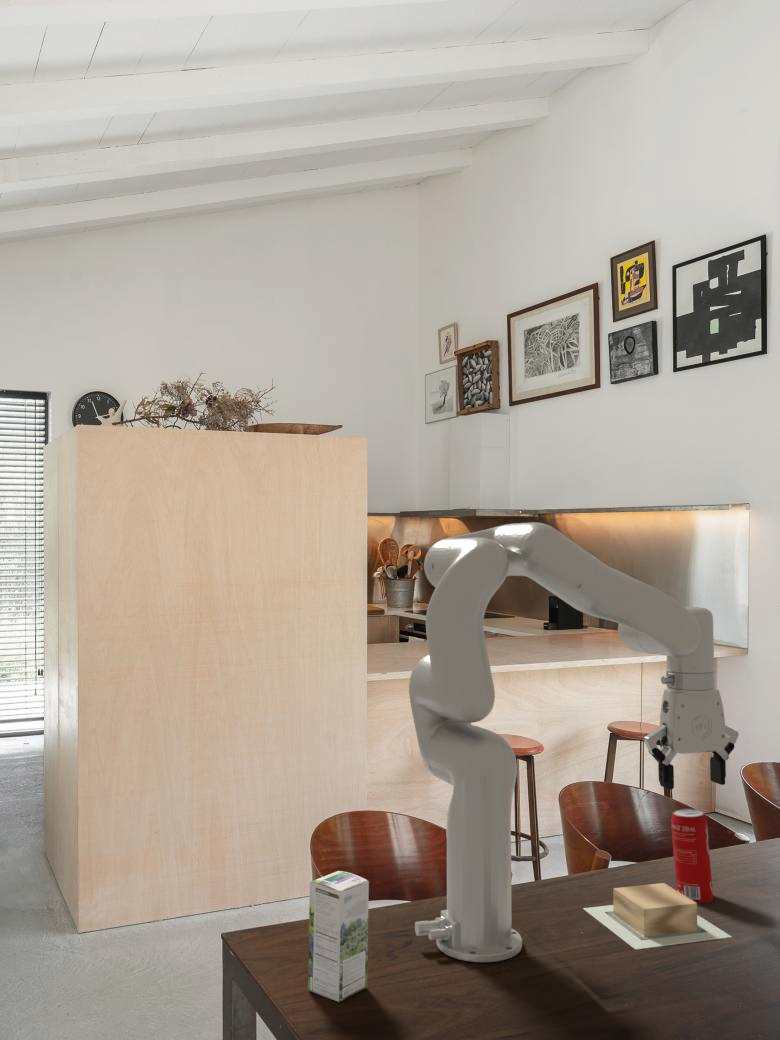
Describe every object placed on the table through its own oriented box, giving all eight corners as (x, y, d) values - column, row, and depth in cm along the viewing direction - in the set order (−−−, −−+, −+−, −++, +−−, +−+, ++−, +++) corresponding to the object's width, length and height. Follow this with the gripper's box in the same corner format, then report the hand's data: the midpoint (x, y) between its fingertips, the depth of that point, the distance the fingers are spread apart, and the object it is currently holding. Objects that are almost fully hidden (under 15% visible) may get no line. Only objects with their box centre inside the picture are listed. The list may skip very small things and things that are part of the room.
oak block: (644, 936, 138) (643, 909, 138) (613, 914, 147) (613, 888, 147) (697, 930, 140) (697, 903, 141) (664, 908, 149) (663, 882, 149)
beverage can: (718, 910, 151) (717, 816, 152) (677, 910, 151) (676, 816, 152) (706, 896, 157) (705, 806, 158) (667, 896, 157) (666, 806, 158)
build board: (635, 957, 134) (635, 948, 134) (582, 915, 149) (582, 907, 149) (732, 945, 138) (731, 936, 138) (671, 905, 153) (671, 897, 153)
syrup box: (336, 975, 128) (336, 868, 128) (369, 988, 124) (369, 877, 125) (307, 990, 123) (307, 879, 124) (340, 1004, 120) (340, 889, 120)
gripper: (656, 687, 150) (658, 795, 149) (749, 682, 154) (751, 786, 154) (632, 681, 157) (634, 783, 156) (721, 676, 162) (723, 776, 161)
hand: (692, 785), depth 155 cm, fingers open, 9 cm apart
